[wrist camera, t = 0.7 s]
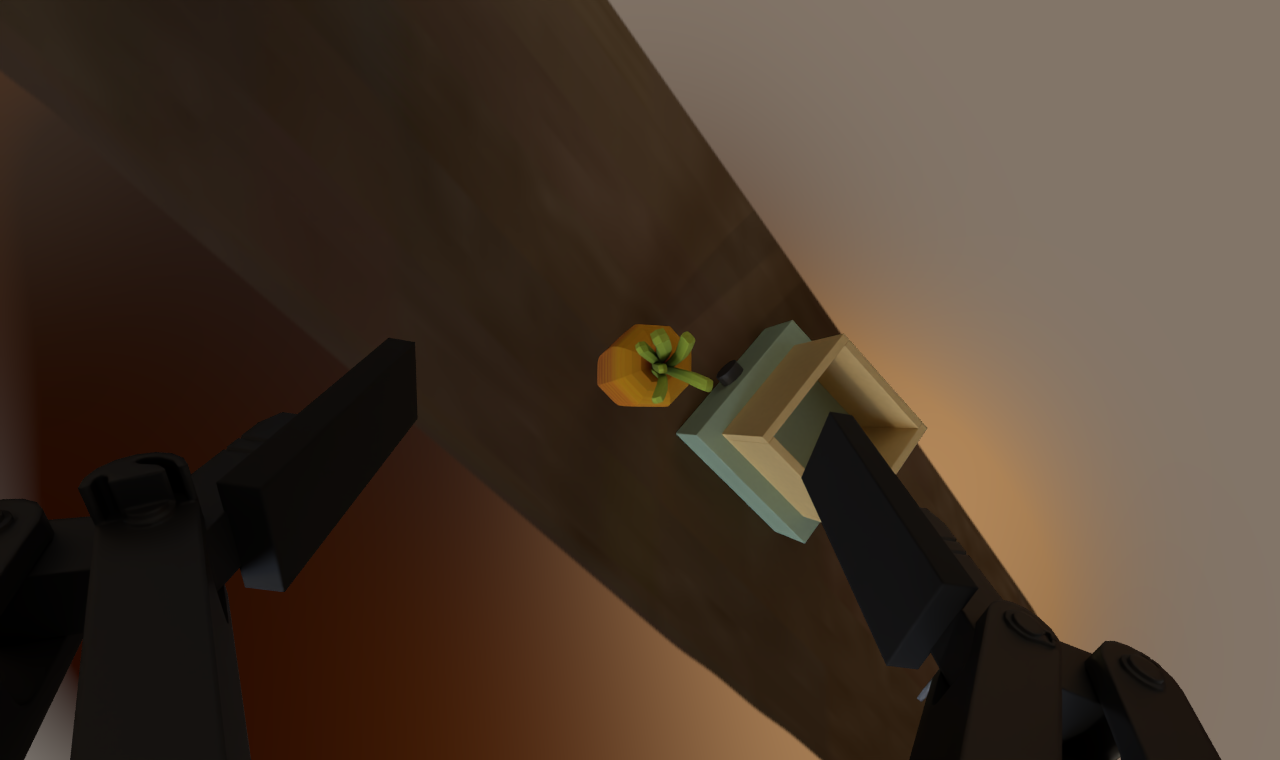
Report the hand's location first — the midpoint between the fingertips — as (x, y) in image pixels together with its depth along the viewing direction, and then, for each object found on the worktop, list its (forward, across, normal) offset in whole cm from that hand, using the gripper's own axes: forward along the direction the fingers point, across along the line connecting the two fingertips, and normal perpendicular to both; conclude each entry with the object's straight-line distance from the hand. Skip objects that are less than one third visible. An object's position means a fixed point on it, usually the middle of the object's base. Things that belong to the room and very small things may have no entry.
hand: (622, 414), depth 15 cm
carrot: (+20, 0, -9) cm, 22 cm away
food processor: (+21, +14, -12) cm, 28 cm away
